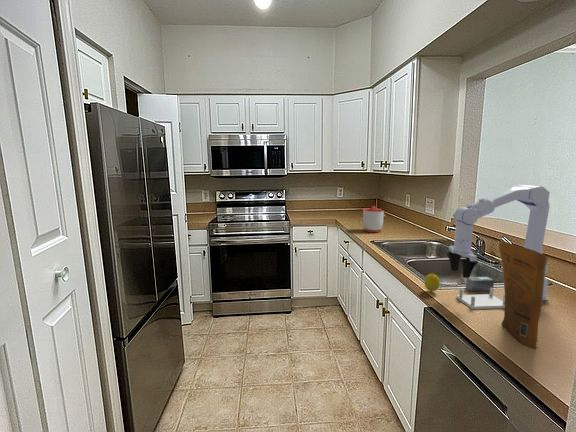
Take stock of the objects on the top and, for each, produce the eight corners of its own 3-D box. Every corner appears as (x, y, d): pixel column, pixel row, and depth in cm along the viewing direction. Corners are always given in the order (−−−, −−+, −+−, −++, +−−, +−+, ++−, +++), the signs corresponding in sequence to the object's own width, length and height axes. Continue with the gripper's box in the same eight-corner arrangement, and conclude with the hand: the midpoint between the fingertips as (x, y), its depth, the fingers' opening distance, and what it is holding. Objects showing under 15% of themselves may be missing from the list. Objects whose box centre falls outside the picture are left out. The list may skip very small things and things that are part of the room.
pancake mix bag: (522, 351, 90) (534, 254, 85) (488, 318, 108) (497, 238, 104) (548, 352, 89) (562, 255, 84) (509, 319, 108) (519, 238, 103)
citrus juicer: (388, 233, 237) (389, 206, 234) (365, 233, 237) (366, 207, 233) (381, 229, 253) (382, 204, 249) (359, 229, 252) (360, 204, 249)
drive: (486, 287, 135) (487, 276, 134) (492, 291, 131) (494, 279, 130) (465, 288, 135) (466, 276, 134) (471, 292, 131) (472, 280, 130)
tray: (490, 296, 126) (491, 287, 125) (509, 308, 116) (510, 297, 115) (456, 297, 125) (457, 287, 124) (472, 309, 115) (473, 298, 115)
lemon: (426, 288, 134) (427, 270, 133) (440, 291, 131) (441, 272, 130) (422, 292, 130) (423, 273, 129) (436, 295, 127) (438, 276, 125)
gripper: (442, 235, 127) (439, 267, 129) (464, 244, 113) (461, 281, 115) (459, 234, 128) (456, 267, 130) (483, 244, 113) (480, 280, 116)
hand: (460, 273), depth 122 cm, fingers open, 7 cm apart
